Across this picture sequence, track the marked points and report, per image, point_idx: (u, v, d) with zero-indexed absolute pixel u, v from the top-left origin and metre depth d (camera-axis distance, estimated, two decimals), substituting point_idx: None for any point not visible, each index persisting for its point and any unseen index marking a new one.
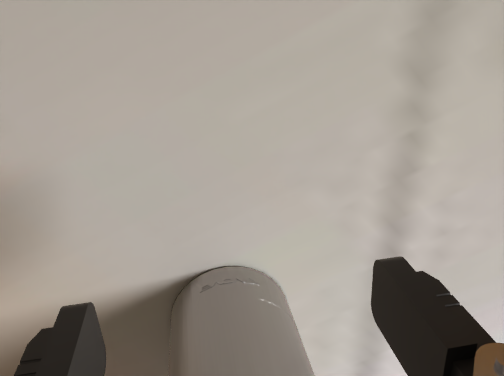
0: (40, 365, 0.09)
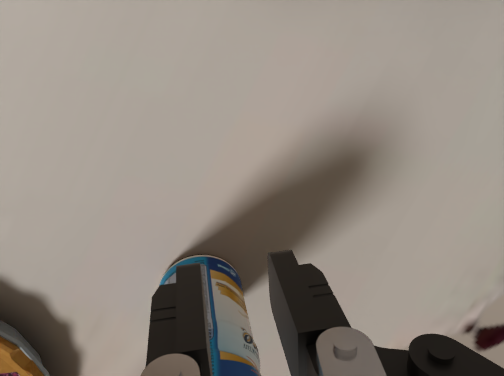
0: (177, 309, 0.11)
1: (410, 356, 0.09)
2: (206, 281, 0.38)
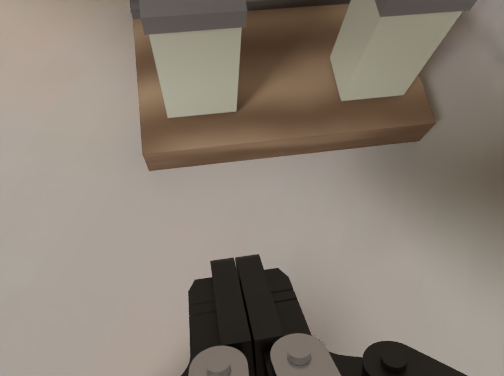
0: (217, 303, 0.11)
1: (365, 368, 0.09)
2: None
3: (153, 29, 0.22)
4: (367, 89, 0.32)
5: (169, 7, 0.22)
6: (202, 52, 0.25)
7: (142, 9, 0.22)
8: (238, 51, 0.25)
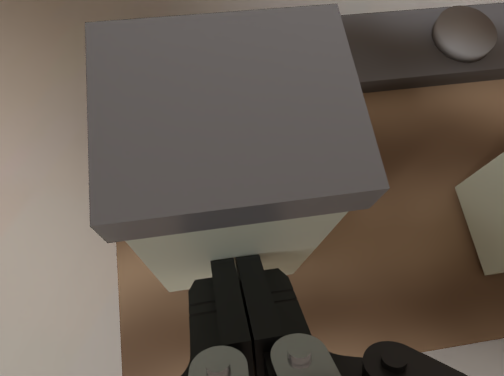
0: (217, 303, 0.11)
1: (365, 368, 0.09)
2: None
3: (130, 235, 0.08)
4: None
5: (174, 186, 0.08)
6: (249, 239, 0.11)
7: (97, 194, 0.08)
8: (329, 229, 0.11)
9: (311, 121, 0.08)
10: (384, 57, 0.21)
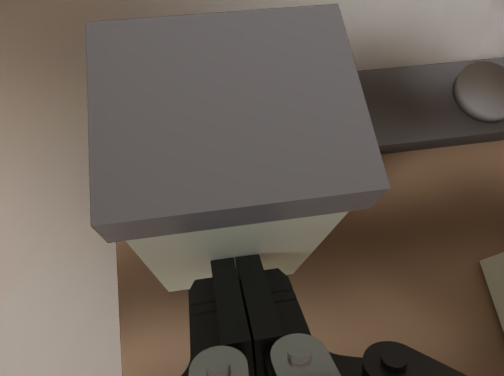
0: (217, 303, 0.11)
1: (365, 368, 0.09)
2: None
3: (131, 235, 0.08)
4: None
5: (174, 186, 0.08)
6: (250, 239, 0.11)
7: (98, 194, 0.08)
8: (329, 229, 0.11)
9: (312, 121, 0.08)
10: (403, 117, 0.20)
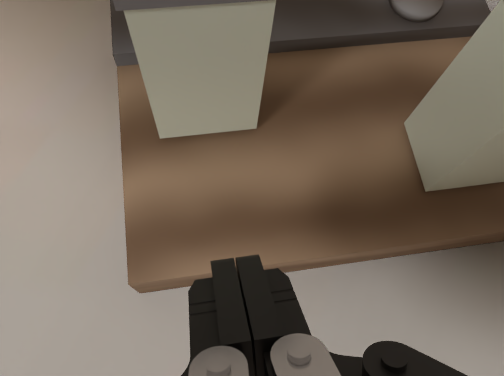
0: (217, 303, 0.11)
1: (365, 368, 0.09)
2: None
3: (130, 1, 0.13)
4: (469, 178, 0.21)
5: None
6: (211, 43, 0.16)
7: None
8: (267, 41, 0.16)
9: None
10: (347, 17, 0.25)
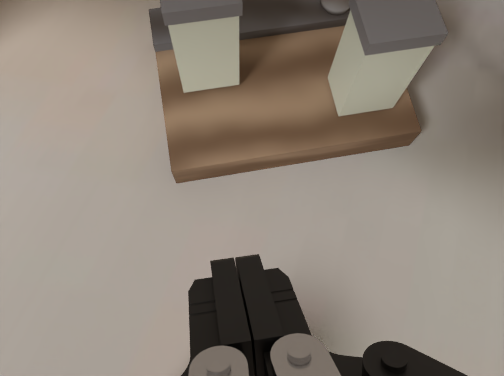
0: (217, 303, 0.11)
1: (365, 368, 0.09)
2: None
3: (171, 21, 0.29)
4: (360, 106, 0.37)
5: (183, 3, 0.29)
6: (209, 37, 0.32)
7: (163, 6, 0.29)
8: (237, 34, 0.32)
9: None
10: (293, 14, 0.40)
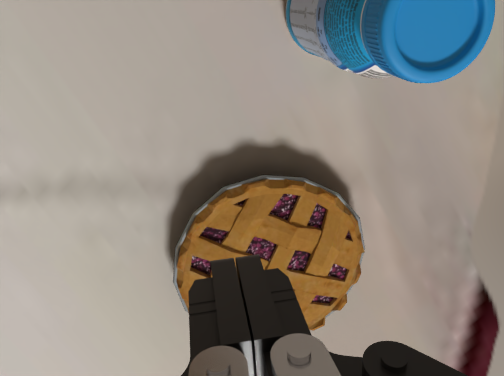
0: (217, 303, 0.11)
1: (365, 368, 0.09)
2: None
3: None
4: None
5: None
6: None
7: None
8: None
9: None
10: None
